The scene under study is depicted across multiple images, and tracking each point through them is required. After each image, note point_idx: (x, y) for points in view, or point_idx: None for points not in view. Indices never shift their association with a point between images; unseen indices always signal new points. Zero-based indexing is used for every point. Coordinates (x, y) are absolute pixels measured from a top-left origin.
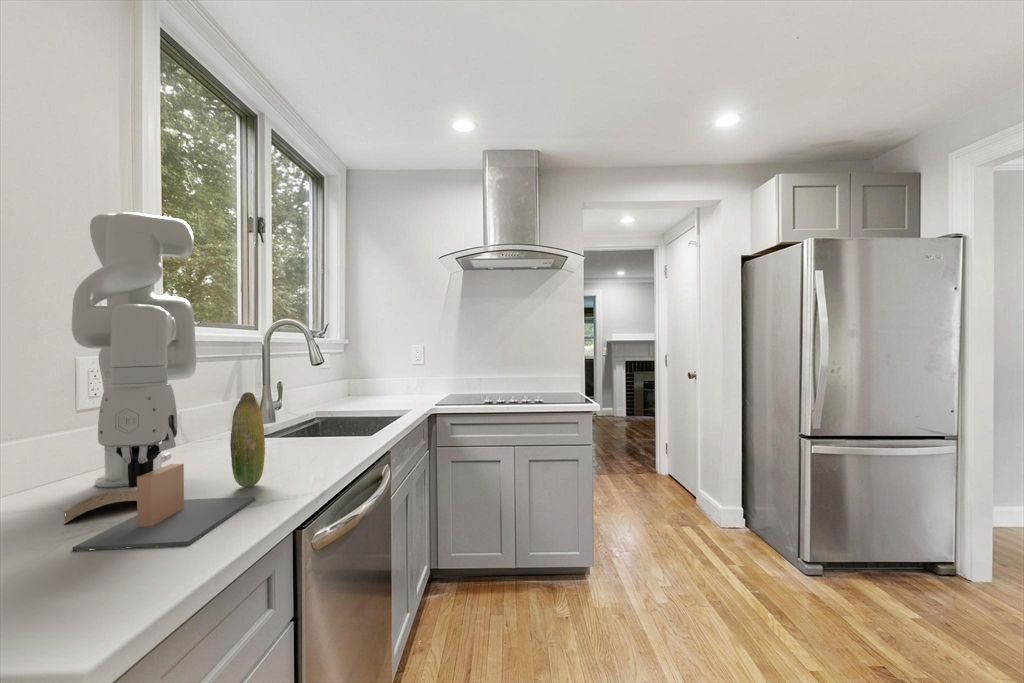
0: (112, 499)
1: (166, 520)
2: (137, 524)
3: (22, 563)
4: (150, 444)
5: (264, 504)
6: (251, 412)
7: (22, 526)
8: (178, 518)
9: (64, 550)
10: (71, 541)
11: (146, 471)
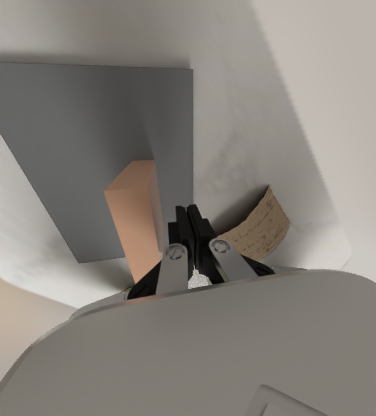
0: (248, 234)
1: None
2: (153, 160)
3: (238, 19)
4: (97, 309)
5: (45, 247)
6: None
7: (311, 183)
8: None
9: (208, 80)
10: (223, 123)
11: (168, 234)
